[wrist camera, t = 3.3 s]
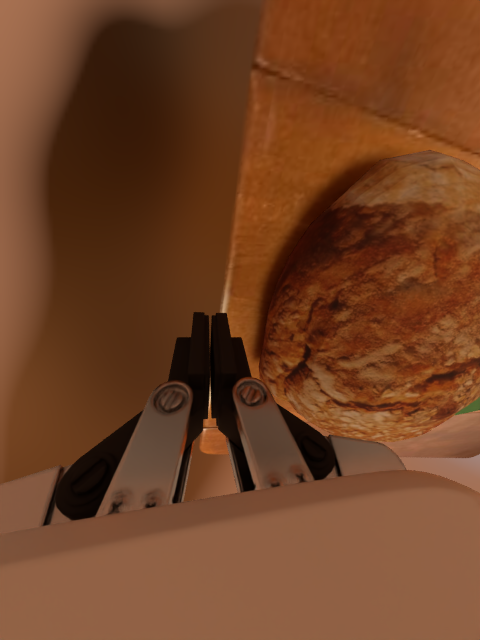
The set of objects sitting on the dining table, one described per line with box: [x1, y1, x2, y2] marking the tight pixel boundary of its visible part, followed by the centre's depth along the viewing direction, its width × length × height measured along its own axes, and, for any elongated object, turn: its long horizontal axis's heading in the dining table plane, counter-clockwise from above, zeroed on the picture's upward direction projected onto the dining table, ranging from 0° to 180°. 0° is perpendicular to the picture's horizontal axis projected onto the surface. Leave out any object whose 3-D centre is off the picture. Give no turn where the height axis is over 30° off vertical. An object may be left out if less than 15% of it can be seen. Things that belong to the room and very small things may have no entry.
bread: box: [259, 150, 480, 442], centre depth 14 cm, size 20×18×10 cm
